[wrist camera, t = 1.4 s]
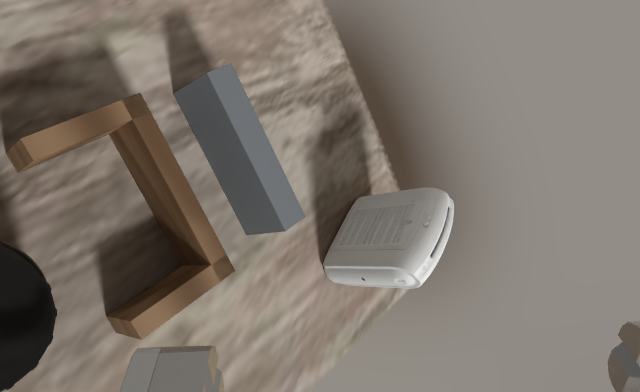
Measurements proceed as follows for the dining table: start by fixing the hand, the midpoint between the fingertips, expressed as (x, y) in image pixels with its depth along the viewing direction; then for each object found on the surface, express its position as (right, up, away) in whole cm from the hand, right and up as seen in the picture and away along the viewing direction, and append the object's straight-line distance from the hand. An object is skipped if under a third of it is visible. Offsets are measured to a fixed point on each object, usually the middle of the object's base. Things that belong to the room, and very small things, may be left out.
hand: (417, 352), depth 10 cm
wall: (-11, +6, +35) cm, 37 cm away
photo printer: (+1, -2, +44) cm, 44 cm away
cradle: (-18, +1, +28) cm, 34 cm away
